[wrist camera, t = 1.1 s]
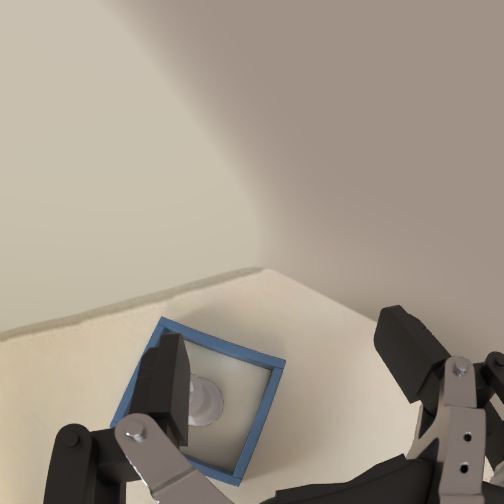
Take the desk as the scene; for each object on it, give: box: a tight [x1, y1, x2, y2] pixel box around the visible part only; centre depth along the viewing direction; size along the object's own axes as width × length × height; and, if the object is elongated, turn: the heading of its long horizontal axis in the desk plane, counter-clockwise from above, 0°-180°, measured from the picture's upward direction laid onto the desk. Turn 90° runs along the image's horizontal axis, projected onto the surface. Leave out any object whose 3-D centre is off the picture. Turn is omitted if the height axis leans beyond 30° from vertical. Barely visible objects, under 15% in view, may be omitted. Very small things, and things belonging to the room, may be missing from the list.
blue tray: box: [109, 317, 286, 487], centre depth 20 cm, size 12×12×2 cm
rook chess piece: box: [188, 373, 223, 427], centre depth 17 cm, size 4×4×8 cm
